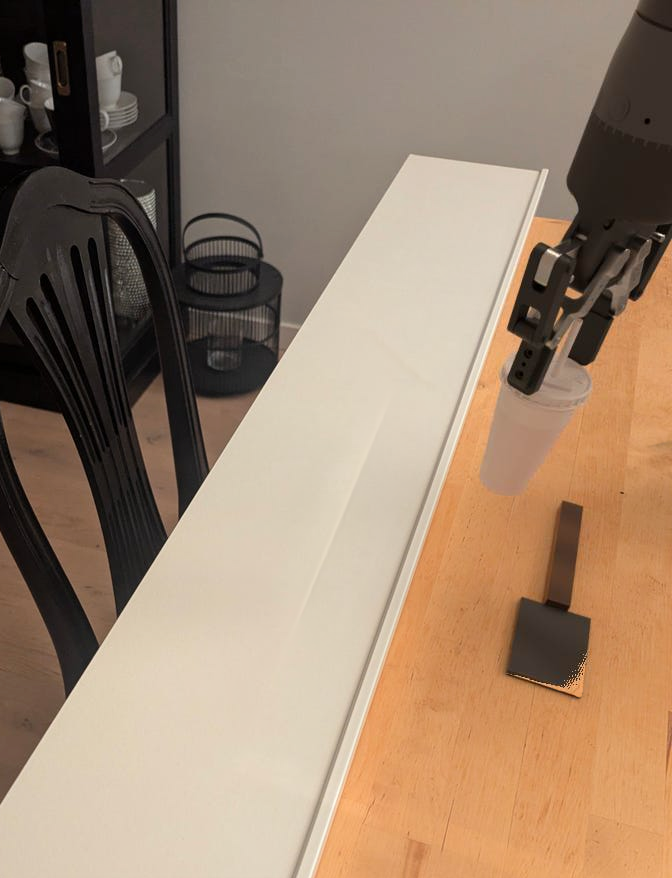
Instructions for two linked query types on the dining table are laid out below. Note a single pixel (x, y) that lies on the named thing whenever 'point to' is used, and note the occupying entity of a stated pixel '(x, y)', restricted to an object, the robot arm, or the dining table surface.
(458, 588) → the dining table surface
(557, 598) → the spatula
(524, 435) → the smoothie
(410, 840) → the dining table surface
